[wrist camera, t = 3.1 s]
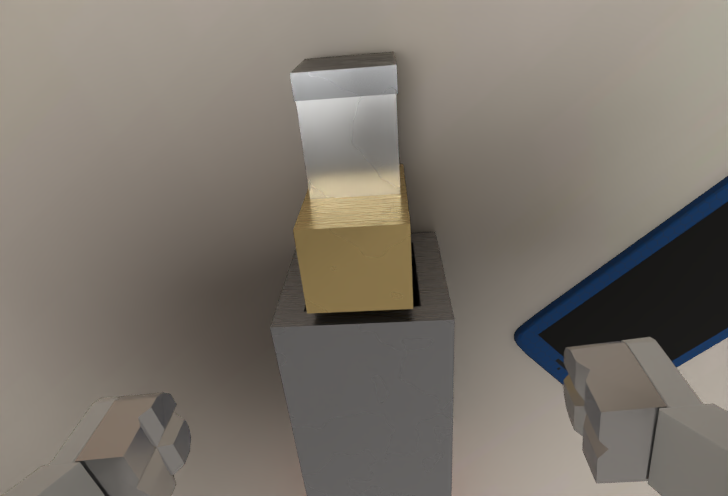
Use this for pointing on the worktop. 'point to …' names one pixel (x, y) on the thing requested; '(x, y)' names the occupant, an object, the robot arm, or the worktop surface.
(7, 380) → the worktop surface
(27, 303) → the worktop surface
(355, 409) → the sleeve
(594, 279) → the cell phone
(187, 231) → the worktop surface
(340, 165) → the gold-banded square post
